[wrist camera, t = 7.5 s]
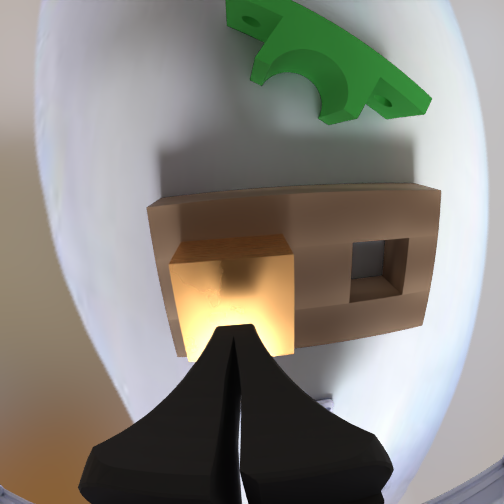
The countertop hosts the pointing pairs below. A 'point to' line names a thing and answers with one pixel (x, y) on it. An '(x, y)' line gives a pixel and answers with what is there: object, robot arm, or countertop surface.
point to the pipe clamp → (325, 61)
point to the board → (318, 250)
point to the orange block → (235, 290)
